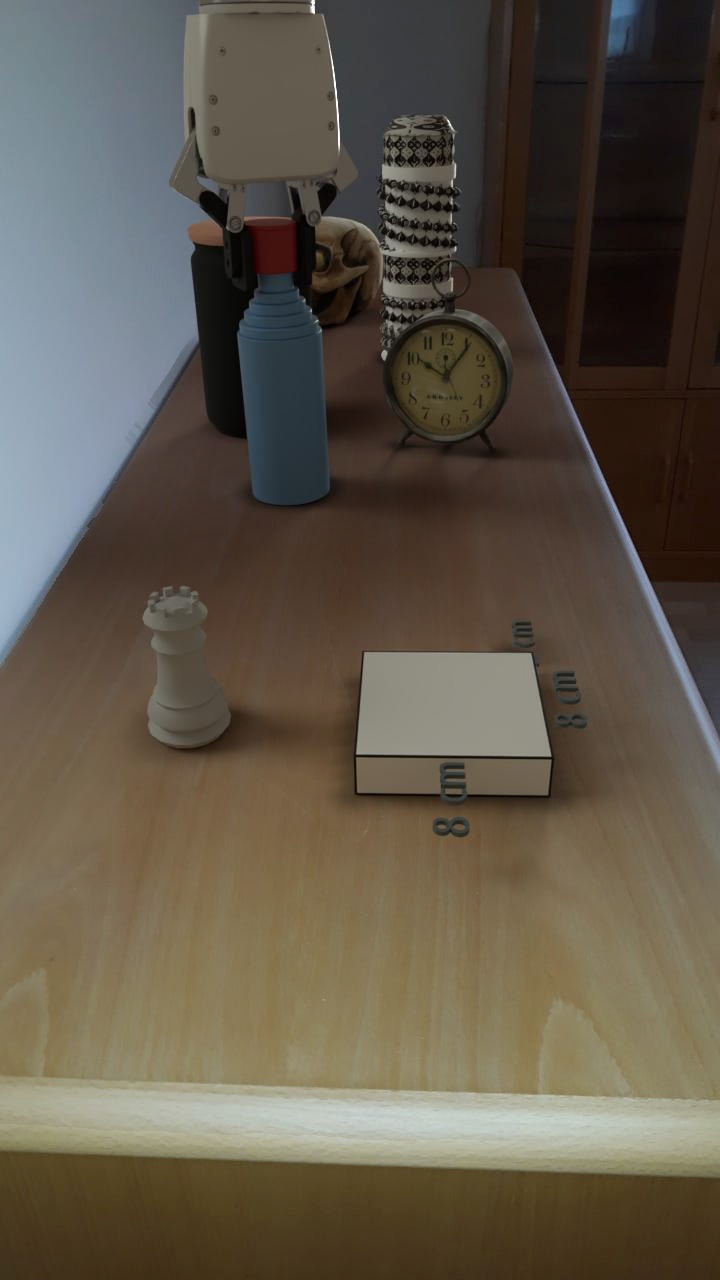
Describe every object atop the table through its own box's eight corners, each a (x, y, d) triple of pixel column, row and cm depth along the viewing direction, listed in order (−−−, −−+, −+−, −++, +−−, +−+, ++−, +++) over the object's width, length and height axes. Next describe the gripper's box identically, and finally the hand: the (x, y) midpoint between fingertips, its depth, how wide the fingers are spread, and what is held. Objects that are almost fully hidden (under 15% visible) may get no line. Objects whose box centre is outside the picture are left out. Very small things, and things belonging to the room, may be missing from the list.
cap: (253, 276, 70) (250, 227, 68) (237, 267, 73) (234, 220, 71) (305, 271, 71) (303, 223, 70) (287, 263, 74) (285, 216, 73)
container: (366, 637, 61) (365, 599, 59) (552, 638, 60) (556, 599, 59) (348, 873, 44) (347, 828, 42) (609, 878, 43) (616, 832, 42)
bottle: (245, 504, 79) (219, 255, 69) (261, 474, 84) (240, 239, 75) (323, 506, 78) (309, 254, 68) (335, 475, 84) (323, 238, 74)
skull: (258, 329, 127) (256, 217, 122) (275, 313, 143) (273, 213, 137) (379, 333, 127) (382, 220, 121) (382, 316, 142) (385, 216, 137)
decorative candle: (361, 356, 116) (356, 117, 103) (417, 342, 121) (419, 112, 108) (415, 372, 110) (418, 119, 97) (472, 356, 115) (481, 114, 102)
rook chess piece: (131, 735, 53) (108, 604, 49) (188, 695, 56) (170, 569, 52) (193, 762, 51) (175, 628, 46) (248, 719, 54) (236, 590, 50)
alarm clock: (382, 451, 89) (380, 261, 80) (397, 431, 93) (397, 250, 85) (502, 461, 86) (513, 266, 78) (512, 440, 90) (524, 254, 82)
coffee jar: (274, 398, 103) (262, 212, 94) (338, 422, 96) (332, 224, 86) (186, 421, 97) (164, 226, 88) (248, 449, 90) (230, 239, 81)
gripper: (348, -7, 69) (352, 266, 79) (114, -10, 63) (148, 287, 73) (397, -13, 64) (395, 283, 73) (143, -16, 57) (177, 307, 67)
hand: (272, 282), depth 73 cm, fingers closed on cap, 3 cm apart
